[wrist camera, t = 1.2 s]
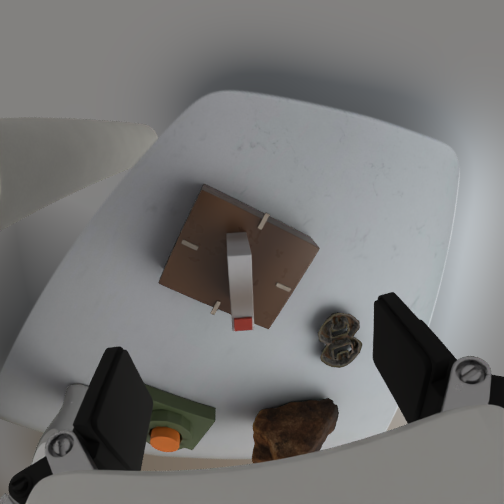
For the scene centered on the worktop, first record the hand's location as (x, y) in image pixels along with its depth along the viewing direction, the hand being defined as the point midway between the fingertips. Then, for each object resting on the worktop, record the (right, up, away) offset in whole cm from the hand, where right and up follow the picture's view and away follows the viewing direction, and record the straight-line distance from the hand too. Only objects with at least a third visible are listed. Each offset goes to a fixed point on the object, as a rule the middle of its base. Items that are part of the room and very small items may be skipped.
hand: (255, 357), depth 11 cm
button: (-11, -19, +22) cm, 31 cm away
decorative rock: (+5, -17, +27) cm, 33 cm away
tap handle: (-1, +3, +16) cm, 16 cm away
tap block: (-1, +4, +19) cm, 19 cm away
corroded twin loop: (+10, -6, +23) cm, 26 cm away
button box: (-11, -17, +26) cm, 33 cm away
